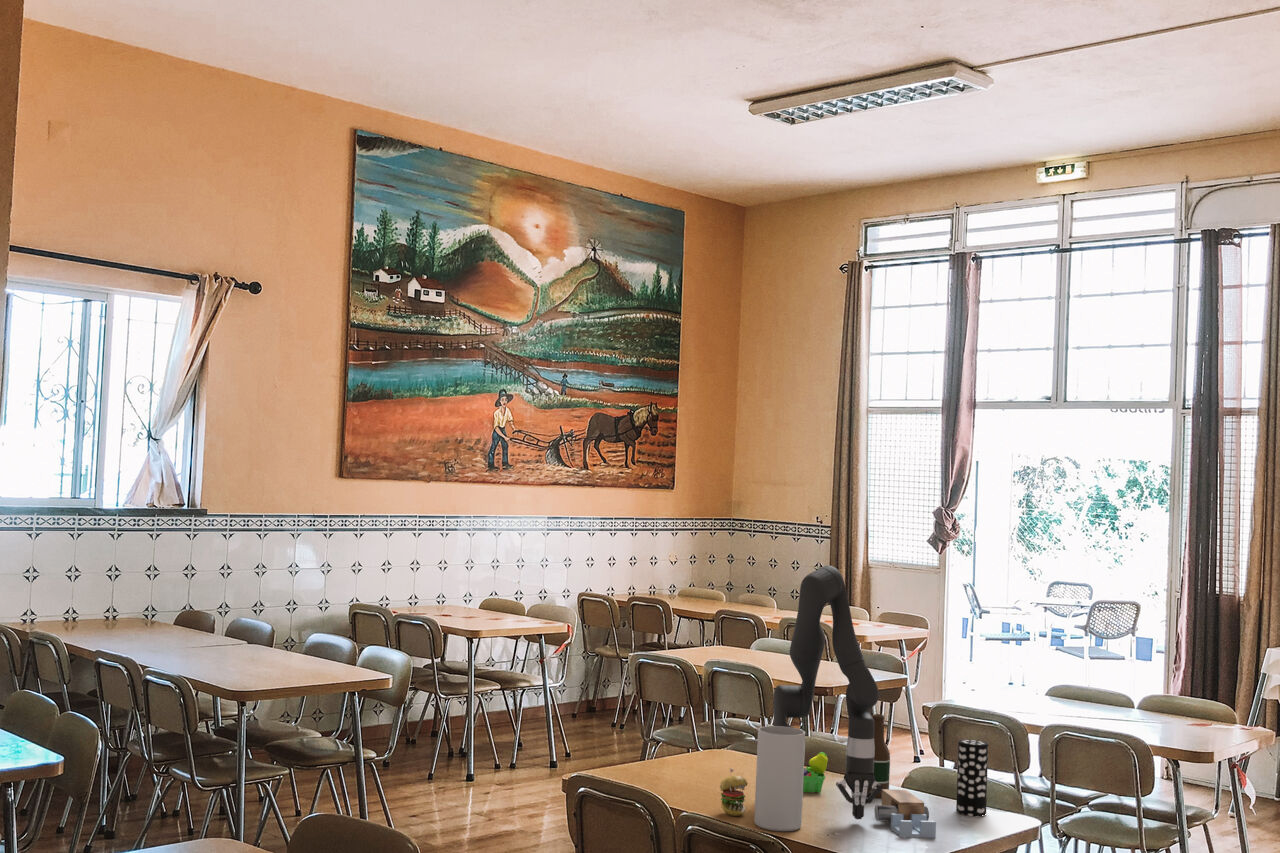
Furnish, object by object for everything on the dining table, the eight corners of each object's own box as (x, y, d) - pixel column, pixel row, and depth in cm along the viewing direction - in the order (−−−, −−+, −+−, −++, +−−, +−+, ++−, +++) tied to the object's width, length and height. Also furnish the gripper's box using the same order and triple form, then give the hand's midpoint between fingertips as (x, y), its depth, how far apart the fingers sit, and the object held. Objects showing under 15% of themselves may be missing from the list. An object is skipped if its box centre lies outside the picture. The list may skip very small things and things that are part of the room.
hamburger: (729, 818, 312) (731, 773, 313) (713, 812, 318) (715, 767, 319) (751, 816, 316) (753, 771, 317) (735, 809, 322) (737, 765, 323)
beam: (898, 827, 312) (899, 802, 312) (881, 813, 326) (881, 789, 326) (923, 828, 312) (924, 802, 313) (904, 814, 327) (905, 789, 327)
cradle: (900, 836, 303) (901, 821, 303) (890, 828, 310) (891, 813, 311) (935, 837, 304) (936, 822, 304) (924, 829, 312) (925, 814, 312)
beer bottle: (888, 799, 343) (891, 718, 345) (862, 797, 345) (865, 715, 346) (888, 794, 351) (891, 713, 352) (862, 791, 352) (865, 711, 354)
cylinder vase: (809, 831, 303) (812, 735, 305) (765, 833, 300) (769, 735, 302) (789, 819, 315) (793, 726, 317) (747, 820, 312) (751, 726, 314)
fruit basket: (795, 784, 357) (796, 747, 358) (824, 786, 357) (825, 749, 358) (799, 793, 346) (800, 754, 347) (829, 795, 346) (830, 756, 346)
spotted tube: (986, 811, 335) (988, 741, 337) (985, 818, 327) (987, 746, 329) (957, 807, 338) (959, 738, 339) (955, 814, 330) (957, 743, 332)
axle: (878, 822, 313) (879, 808, 313) (874, 817, 317) (875, 802, 317) (928, 823, 314) (929, 809, 314) (923, 818, 318) (924, 803, 318)
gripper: (840, 756, 311) (838, 821, 310) (888, 757, 312) (886, 822, 311) (832, 750, 318) (830, 814, 317) (879, 751, 320) (877, 815, 319)
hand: (858, 818), depth 314 cm, fingers closed
